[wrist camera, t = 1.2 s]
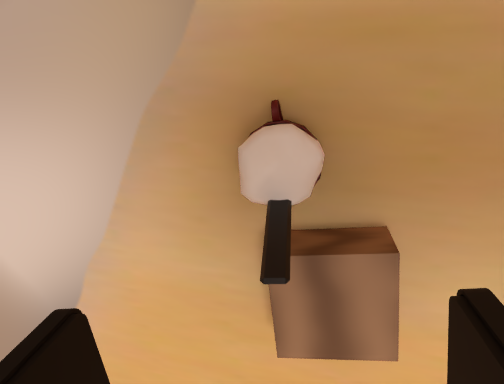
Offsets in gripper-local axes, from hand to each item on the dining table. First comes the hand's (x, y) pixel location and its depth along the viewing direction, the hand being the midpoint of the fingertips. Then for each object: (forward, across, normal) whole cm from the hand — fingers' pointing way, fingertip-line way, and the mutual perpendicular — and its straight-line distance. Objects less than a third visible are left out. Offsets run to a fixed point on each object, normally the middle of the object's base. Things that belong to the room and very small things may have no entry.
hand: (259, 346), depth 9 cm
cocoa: (+22, 0, 0) cm, 22 cm away
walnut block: (+22, -2, +12) cm, 25 cm away
